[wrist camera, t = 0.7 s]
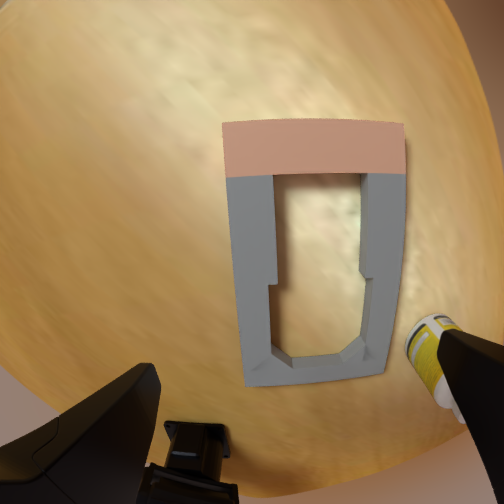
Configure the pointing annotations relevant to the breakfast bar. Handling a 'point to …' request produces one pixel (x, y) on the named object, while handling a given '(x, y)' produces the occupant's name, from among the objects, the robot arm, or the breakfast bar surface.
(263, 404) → the breakfast bar surface
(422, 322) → the supplement bottle
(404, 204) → the keyhole board
